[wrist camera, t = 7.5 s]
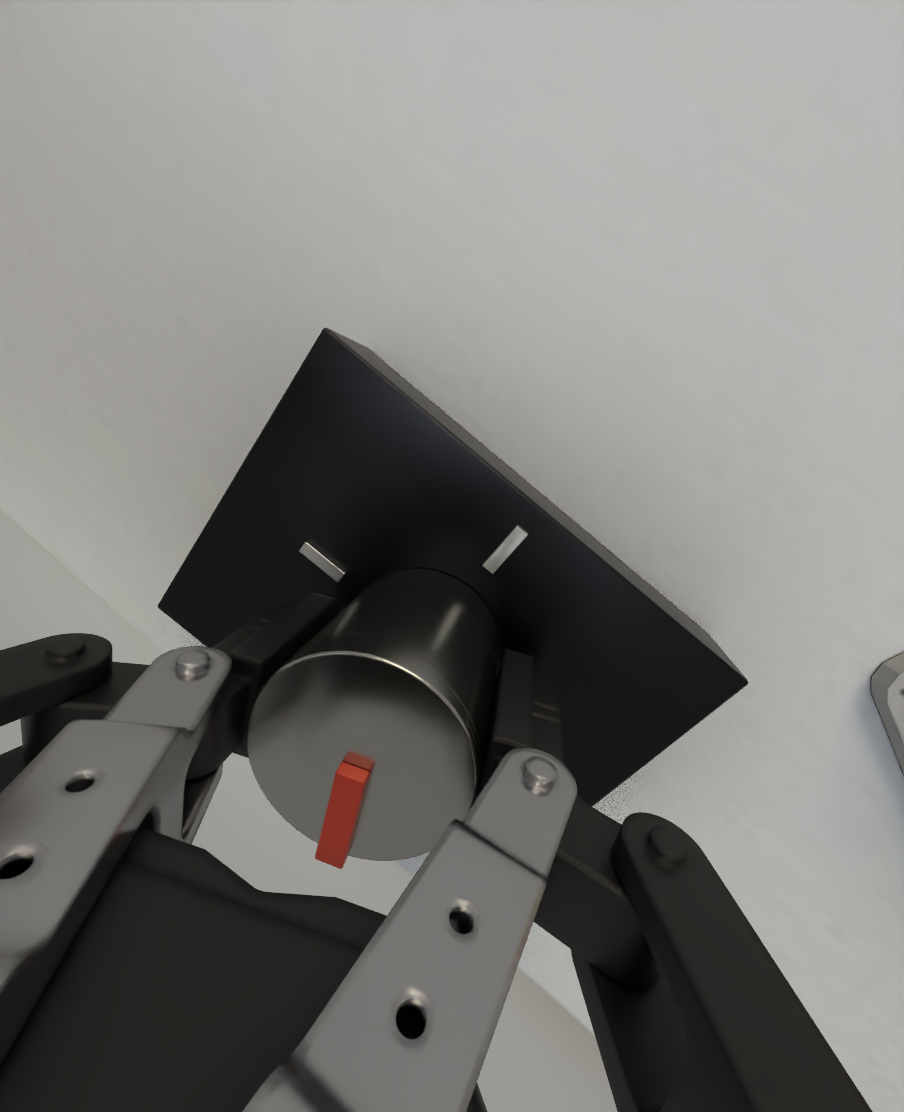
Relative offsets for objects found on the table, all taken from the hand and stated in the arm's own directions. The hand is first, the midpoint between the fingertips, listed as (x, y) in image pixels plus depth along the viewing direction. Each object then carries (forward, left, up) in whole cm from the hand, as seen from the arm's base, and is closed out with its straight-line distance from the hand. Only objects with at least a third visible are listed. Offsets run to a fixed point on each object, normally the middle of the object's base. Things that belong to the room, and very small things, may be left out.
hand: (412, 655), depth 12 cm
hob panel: (0, 0, -4) cm, 4 cm away
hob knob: (0, 0, -1) cm, 1 cm away
